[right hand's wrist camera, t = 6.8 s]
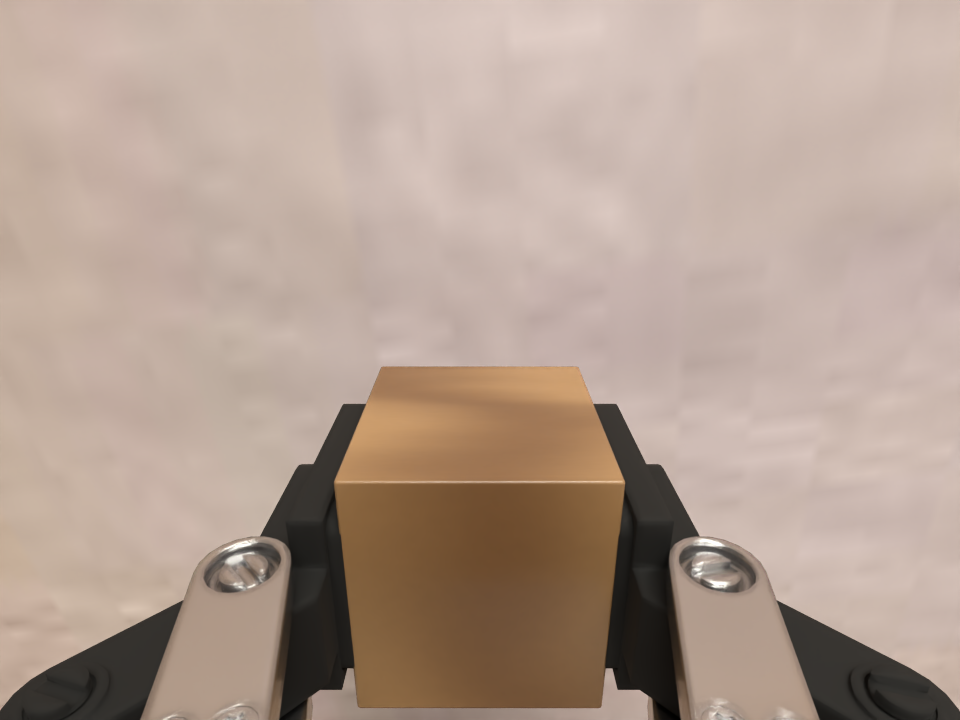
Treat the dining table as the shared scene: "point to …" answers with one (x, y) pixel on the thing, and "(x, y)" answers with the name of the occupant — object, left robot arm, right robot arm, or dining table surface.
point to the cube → (479, 539)
